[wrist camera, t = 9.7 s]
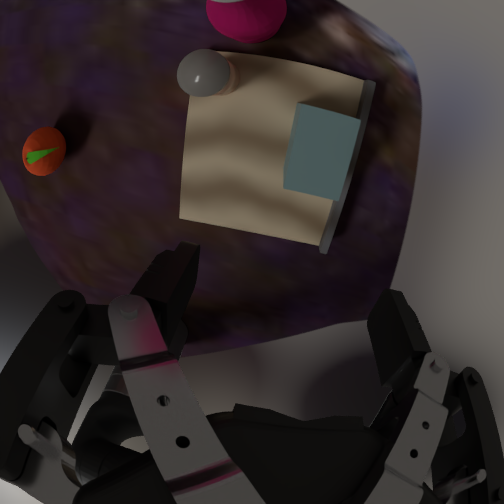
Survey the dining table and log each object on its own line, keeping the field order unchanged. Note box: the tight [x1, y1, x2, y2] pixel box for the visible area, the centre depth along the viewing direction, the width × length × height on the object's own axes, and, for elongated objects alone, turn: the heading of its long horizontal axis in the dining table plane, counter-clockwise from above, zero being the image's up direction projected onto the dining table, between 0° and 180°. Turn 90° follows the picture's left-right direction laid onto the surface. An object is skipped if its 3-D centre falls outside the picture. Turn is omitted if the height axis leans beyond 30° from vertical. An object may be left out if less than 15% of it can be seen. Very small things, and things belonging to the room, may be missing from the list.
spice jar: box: [177, 49, 240, 97], centre depth 20 cm, size 4×4×7 cm
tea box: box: [283, 103, 361, 201], centre depth 23 cm, size 5×7×7 cm
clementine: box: [23, 127, 66, 176], centre depth 26 cm, size 8×7×7 cm
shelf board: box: [180, 51, 376, 254], centre depth 27 cm, size 20×18×3 cm
